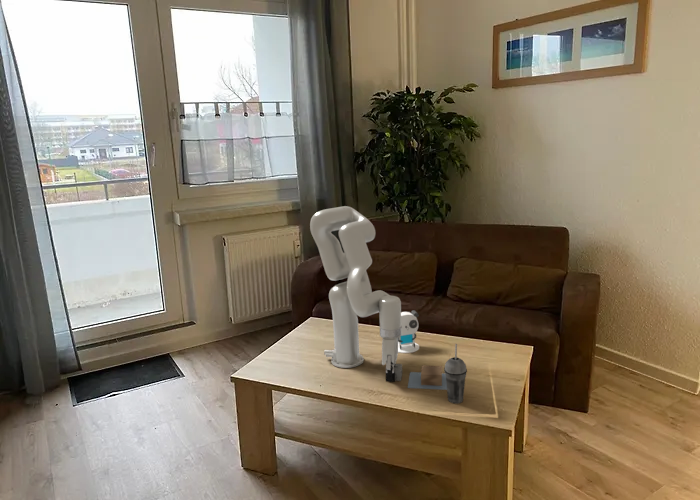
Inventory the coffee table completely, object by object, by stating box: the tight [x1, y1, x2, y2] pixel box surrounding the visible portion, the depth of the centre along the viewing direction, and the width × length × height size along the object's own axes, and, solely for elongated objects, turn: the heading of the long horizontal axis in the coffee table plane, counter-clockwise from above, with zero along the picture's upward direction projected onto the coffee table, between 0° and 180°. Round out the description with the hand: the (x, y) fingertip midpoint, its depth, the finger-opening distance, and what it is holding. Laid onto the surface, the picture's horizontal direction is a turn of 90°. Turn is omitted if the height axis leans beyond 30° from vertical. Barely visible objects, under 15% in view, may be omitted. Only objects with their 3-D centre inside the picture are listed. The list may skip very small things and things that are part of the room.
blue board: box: [407, 371, 447, 391], centre depth 185 cm, size 16×12×1 cm
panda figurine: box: [398, 309, 420, 354], centre depth 215 cm, size 12×11×15 cm
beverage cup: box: [443, 343, 468, 405], centre depth 170 cm, size 7×7×20 cm
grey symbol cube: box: [391, 363, 403, 382], centre depth 189 cm, size 5×5×5 cm
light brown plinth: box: [420, 364, 443, 386], centre depth 185 cm, size 7×7×4 cm
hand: (391, 378), depth 189 cm, fingers closed on grey symbol cube, 5 cm apart
